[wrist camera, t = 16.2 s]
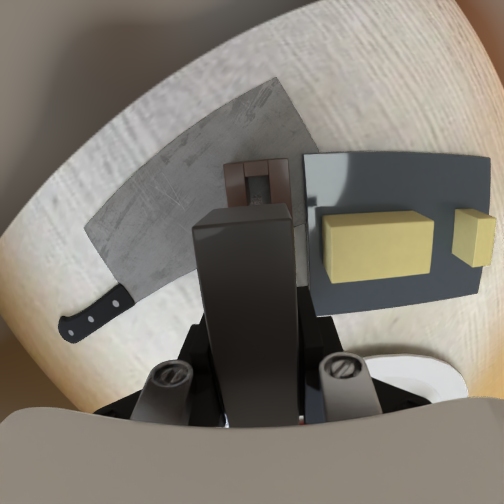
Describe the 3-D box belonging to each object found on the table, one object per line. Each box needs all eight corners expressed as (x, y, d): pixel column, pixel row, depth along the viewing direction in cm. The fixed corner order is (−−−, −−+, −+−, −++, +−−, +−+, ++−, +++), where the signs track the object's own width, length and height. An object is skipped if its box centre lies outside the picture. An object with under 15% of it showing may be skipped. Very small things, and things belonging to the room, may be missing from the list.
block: (246, 314, 24) (243, 335, 21) (229, 162, 20) (222, 164, 17) (294, 311, 23) (298, 332, 21) (285, 157, 20) (288, 158, 17)
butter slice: (451, 253, 20) (472, 267, 17) (454, 208, 19) (478, 218, 16) (469, 251, 20) (490, 265, 17) (472, 208, 19) (496, 217, 16)
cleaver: (20, 270, 24) (75, 349, 26) (17, 272, 23) (73, 352, 26) (275, 77, 18) (346, 201, 21) (276, 75, 18) (348, 202, 20)
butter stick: (322, 265, 21) (331, 284, 18) (321, 215, 20) (330, 226, 17) (411, 257, 21) (429, 273, 18) (413, 210, 20) (434, 220, 16)
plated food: (439, 460, 32) (445, 475, 28) (255, 501, 35) (254, 518, 32) (480, 305, 23) (498, 322, 19) (177, 377, 26) (168, 401, 23)
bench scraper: (252, 356, 17) (240, 478, 9) (234, 190, 15) (189, 226, 6) (289, 354, 17) (298, 477, 9) (279, 187, 15) (292, 217, 6)
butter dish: (308, 312, 23) (310, 317, 23) (301, 153, 20) (302, 153, 19) (473, 290, 22) (477, 293, 21) (485, 157, 18) (490, 157, 18)
